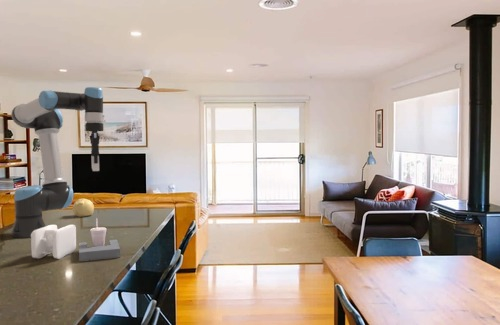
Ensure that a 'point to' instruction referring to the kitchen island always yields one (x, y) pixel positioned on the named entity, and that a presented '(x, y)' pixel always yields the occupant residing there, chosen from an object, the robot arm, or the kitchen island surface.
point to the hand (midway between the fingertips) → (95, 169)
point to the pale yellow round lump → (83, 207)
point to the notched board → (99, 251)
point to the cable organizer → (53, 241)
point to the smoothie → (98, 235)
